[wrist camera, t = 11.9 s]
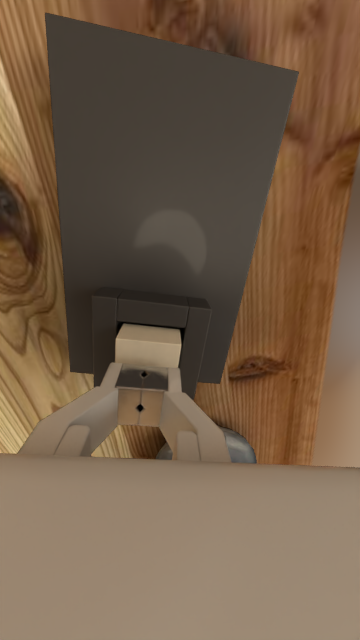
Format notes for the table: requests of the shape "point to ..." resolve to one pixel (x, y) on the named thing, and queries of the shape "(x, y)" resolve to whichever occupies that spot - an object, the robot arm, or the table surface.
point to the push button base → (158, 187)
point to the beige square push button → (148, 346)
